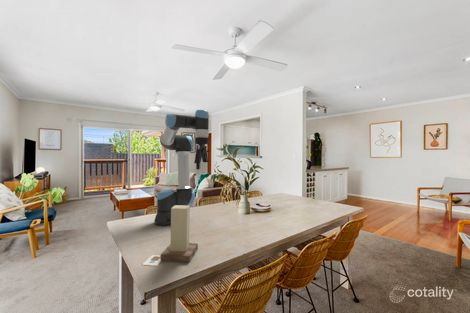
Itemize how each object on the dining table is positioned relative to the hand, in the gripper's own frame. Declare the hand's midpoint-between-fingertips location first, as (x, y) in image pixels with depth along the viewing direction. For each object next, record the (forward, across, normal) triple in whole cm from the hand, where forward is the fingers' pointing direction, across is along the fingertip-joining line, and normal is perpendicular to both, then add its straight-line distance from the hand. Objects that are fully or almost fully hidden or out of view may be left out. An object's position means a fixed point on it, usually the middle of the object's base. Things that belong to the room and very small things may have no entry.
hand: (201, 174), depth 123 cm
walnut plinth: (+39, +18, -6) cm, 43 cm away
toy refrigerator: (+36, +18, -6) cm, 40 cm away
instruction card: (+39, +25, -16) cm, 49 cm away
